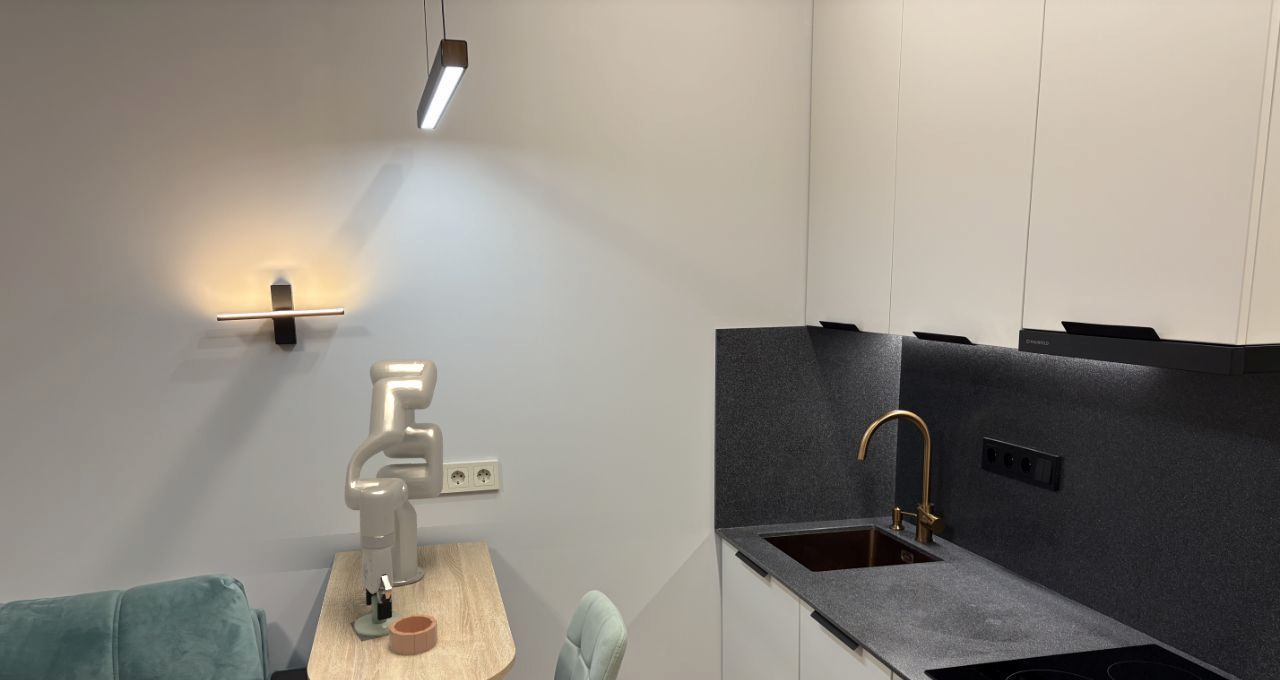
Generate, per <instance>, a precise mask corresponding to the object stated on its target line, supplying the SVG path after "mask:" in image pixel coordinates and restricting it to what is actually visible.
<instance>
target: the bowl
mask: <svg viewBox="0 0 1280 680" xmlns="http://www.w3.org/2000/svg"><path fill="white" fill-rule="evenodd" d="M388 642H389V643H388V644H389V645H388V646H389V649H390V651H391V652H392V653H394V654H396V655H401V656H416V655H420V654H423V653H427V652H428V651H430V650H432V649H434V648H435V647H436V645H437V642H438V620H437V619H436V618H435V617H434V616H432V615H428V614H423V613H422V614H409V615H405V616H404V617H401V618H399V619H397V620H395V621H393V622H392V623H391V625H390V627H389V635H388Z"/></svg>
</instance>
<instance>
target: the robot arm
mask: <svg viewBox="0 0 1280 680" xmlns="http://www.w3.org/2000/svg"><path fill="white" fill-rule="evenodd" d="M369 376H370V380H371V383H372V390H371V391H372V394H371V404H370V414H369V415H370V418H369V433H368V436H367V438H366V439H365V440H364V441H363V442H362V443H361V444H360V445H359V446H358V447H357V449H356V450H355V451H354V453H353V454H352V456H351V457H350V460H349V462H348V464H347V467H346V475H345V486H344V502H345V505H346V507H347V508H349V509H350V510H352V511H359V538H360V541H359V542H360V543H359V544H360V545H359V546H360V549H361V551H362V552H361V554H362V555H361V582H362V585H363V586H364V587H365V601H366V602H365V604H366V605H367V606H372V596H373V595H375V594H377V597H378V602H379V603H377V619H378V620H379V621H380V620H384V619H388V618H391V617H392V611H393V597H392V589H393V587H397V586H400V587H401V586H406V585H410V584H413V583H416V582H418V581H420V580H422V578H423V577H424V575H425V574H424V569H423V568H422V567H420V566H418V564H419V563H418V515H417V511H416V510H415V507H414V506H413V505H412V503H411V502H410V501H409V500H416V499H417V500H418V499H419V500H422V499H434V498H437V497H439V496H440V495H441V494H442V491H443V487H444V440H443V432H442V429H441V428H440V426H439V425H438V424H436V423H432V422H416V410H426V409H428V408H429V407H430V406H431V403H432V401H433V397H434V395H435V389H436V385H437V381H438V369H437V366H436V364H435V362H433V361H432V360H429V359H385V360H384V359H383V360H378V361H375V362H373V363H372V364H371V366H370V368H369ZM381 452H383V455H384V456H385V457H386V458H390V459H424V460H425V462H417V463H410V462H409V463H406V462H405V463H391V464H387V465H383V466H381V468H379V469H378V471H377V473H376V475H375V477H371V478H369V477H368V478H367V477H366V478H360V474H361V470H362V468H363V466H364V465H365V463H366V462H367V461H368V460H369V459H370V458H372V457H374V456H375V455H377V454H379V453H381ZM381 594H383V595H382V598H381Z"/></svg>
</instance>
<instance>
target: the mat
mask: <svg viewBox="0 0 1280 680" xmlns="http://www.w3.org/2000/svg"><path fill="white" fill-rule="evenodd" d="M355 622H356V620H355V621H352V622H349V624H350V626H351V627H352V629H353V630H354V632H355V625H354V624H355ZM355 634H356V636H357V637H358V638H359V640H360V641H361V642H365V641H369V640H373V639H376V638H377V639H378V638H381V637H385V636H389V634H388V635H384V636H379V637H366V636H361V635H359V634H357V633H356V632H355Z"/></svg>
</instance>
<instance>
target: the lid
mask: <svg viewBox="0 0 1280 680" xmlns="http://www.w3.org/2000/svg"><path fill="white" fill-rule="evenodd" d="M383 594H384V593H381V598H382V595H383ZM377 603H379V602H378V597H377V594H375V595H373V596H372V605H371V612H370V613H367V614H364V615H362V616H360V617H359V618H357V619H356V620H355V621H356V622H355V621H354V622H355V624H354V625H355V631H354V632H355V634H356V633H357V634H359V635H361V636H366V637H378V638H380V637H379V636H382V637H385V636H384V635H386V636H389V635H388V634H389V627H390V625H391V623H392V622H393V621H395V620H397V619H399V618H401V617H405V616H404V614H402V613H401V612H398V611H394V610H392V617H391V618H388V619H384V620H380V621H379V620H378V619H377ZM357 634H356V635H357Z"/></svg>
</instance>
